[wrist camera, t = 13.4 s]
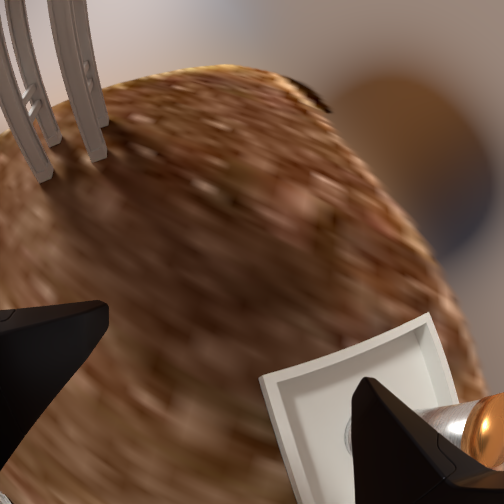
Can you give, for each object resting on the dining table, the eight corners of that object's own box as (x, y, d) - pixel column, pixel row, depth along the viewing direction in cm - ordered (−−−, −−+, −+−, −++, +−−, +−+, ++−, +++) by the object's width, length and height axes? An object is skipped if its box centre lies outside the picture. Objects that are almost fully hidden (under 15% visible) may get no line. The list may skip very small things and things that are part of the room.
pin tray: (308, 533, 13) (318, 546, 10) (258, 378, 20) (262, 375, 18) (449, 453, 16) (468, 454, 13) (411, 322, 23) (428, 311, 21)
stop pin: (338, 464, 16) (453, 505, 4) (349, 397, 19) (474, 372, 7) (398, 459, 16) (521, 468, 4) (407, 397, 19) (531, 365, 7)
